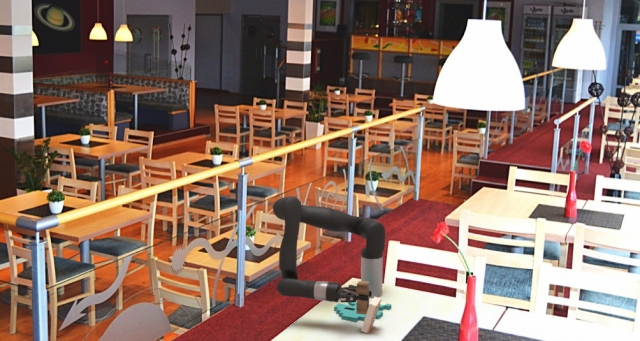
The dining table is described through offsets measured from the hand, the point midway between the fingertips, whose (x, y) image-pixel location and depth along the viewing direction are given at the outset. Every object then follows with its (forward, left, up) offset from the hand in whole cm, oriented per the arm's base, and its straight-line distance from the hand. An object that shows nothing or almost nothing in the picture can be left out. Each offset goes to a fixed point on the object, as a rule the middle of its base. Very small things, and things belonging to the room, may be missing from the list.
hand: (369, 295), depth 317 cm
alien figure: (-16, -8, -15) cm, 23 cm away
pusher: (0, -3, -7) cm, 8 cm away
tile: (0, -1, -13) cm, 14 cm away
